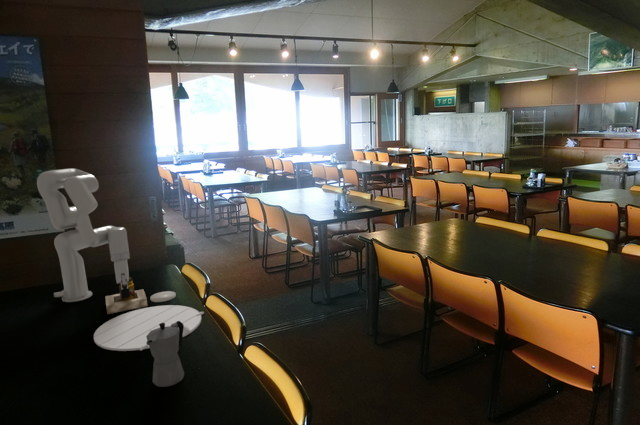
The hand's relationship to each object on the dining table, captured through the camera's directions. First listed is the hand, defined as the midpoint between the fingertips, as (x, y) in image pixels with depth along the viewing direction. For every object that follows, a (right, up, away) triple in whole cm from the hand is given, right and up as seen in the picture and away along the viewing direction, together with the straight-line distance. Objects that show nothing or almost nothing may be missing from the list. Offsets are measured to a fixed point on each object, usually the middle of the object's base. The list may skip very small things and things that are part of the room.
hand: (125, 294), depth 199 cm
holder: (0, -5, +1) cm, 5 cm away
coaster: (+14, -3, +8) cm, 16 cm away
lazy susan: (+20, -9, -23) cm, 32 cm away
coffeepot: (+40, -14, -61) cm, 74 cm away
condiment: (0, -5, +1) cm, 5 cm away
